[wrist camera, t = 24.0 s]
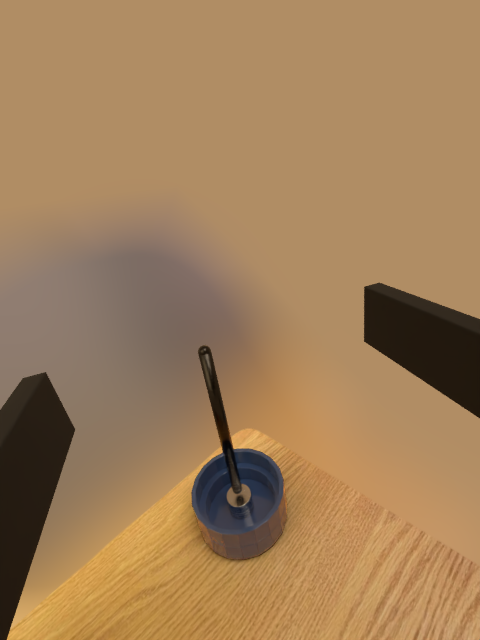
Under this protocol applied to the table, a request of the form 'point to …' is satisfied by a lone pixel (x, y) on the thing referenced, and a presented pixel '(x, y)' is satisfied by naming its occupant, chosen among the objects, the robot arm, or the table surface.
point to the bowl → (215, 514)
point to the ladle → (225, 441)
